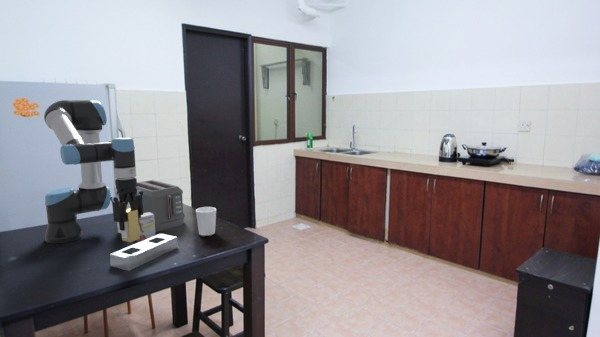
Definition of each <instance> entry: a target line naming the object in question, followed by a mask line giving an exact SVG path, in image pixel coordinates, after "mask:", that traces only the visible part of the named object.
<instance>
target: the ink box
mask: <svg viewBox="0 0 600 337" xmlns="http://www.w3.org/2000/svg"><path fill="white" fill-rule="evenodd" d="M139 222H140V224H139V235H140V239H138V240H135V241H136V242H137V243H138V242H141V241H143V240H146V239H148V238H150V237H153V236H155V235H157V234H156V231H155V219H154V214H153V213H151V212H147V213H143V215H141V218H139Z"/></svg>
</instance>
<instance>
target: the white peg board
mask: <svg viewBox="0 0 600 337" xmlns="http://www.w3.org/2000/svg"><path fill="white" fill-rule="evenodd" d="M178 247H179V246H178V237H177V236H176V235H175V236H174V235H170V234H165V233H158V234H156V235H155V236H153V237H150V238H148V239H146V240H143V241H140V242H138V241H137V242H136V243H134V244H131V245H129V246H126V247H124V248H122V249H120V250H117V251H113V252H112V253H110V254H109V258H110V261H109V262H110V267H113V268H118V269H120V270H125V271H128V272H129V271H131V270H132V271H133V270H134V269H135V268H138V267H141V266H142V265H144V264H146V263H148V262H151V261H152V260H155V259H156V258H159V257H161V256H163V255H165V254H167V253H169V252H171V251H174V250H176V249H178Z"/></svg>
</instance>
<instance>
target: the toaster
mask: <svg viewBox="0 0 600 337" xmlns="http://www.w3.org/2000/svg"><path fill="white" fill-rule="evenodd" d="M136 189H137V190H139V191H143V196H142V200H143V213H147V212H151V213H153V214H154V219H155V232H160V231H164V230H167V229H171V228H174V227H179V226H181V225H184V223H185V217H186V216H185V213H184V203H183V189H181V187H179V186H178V185H173V184H171V183H166V182H163V181H158V180H155V179H152V180H151V179H150V180H143V181H137V187H136ZM135 197H136V196H135Z"/></svg>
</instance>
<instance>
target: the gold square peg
mask: <svg viewBox="0 0 600 337" xmlns="http://www.w3.org/2000/svg"><path fill="white" fill-rule="evenodd" d="M125 222H127V228H128V238H122V237H121V240H122V241H123V242H126V243H127V242H128V243H133V242H134V241H136V240H138V239H140V235H139V223H138V210H137V209H130V208H129V209H126V218H125Z"/></svg>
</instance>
